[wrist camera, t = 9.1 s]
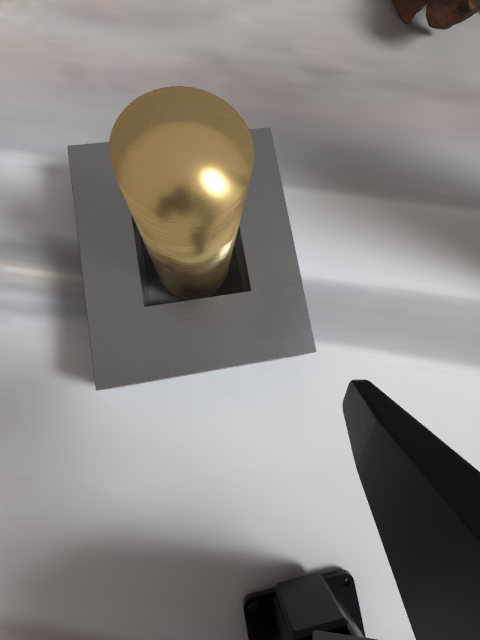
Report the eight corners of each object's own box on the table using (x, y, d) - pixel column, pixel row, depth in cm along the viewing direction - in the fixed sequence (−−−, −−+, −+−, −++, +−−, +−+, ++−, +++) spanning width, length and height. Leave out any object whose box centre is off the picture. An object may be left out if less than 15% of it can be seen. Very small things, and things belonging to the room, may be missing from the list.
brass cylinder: (233, 294, 23) (265, 208, 11) (162, 304, 23) (118, 226, 11) (221, 227, 24) (240, 81, 12) (152, 236, 23) (100, 91, 11)
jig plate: (301, 355, 23) (316, 351, 20) (110, 388, 21) (96, 390, 19) (262, 157, 25) (270, 127, 22) (84, 175, 23) (67, 146, 20)
